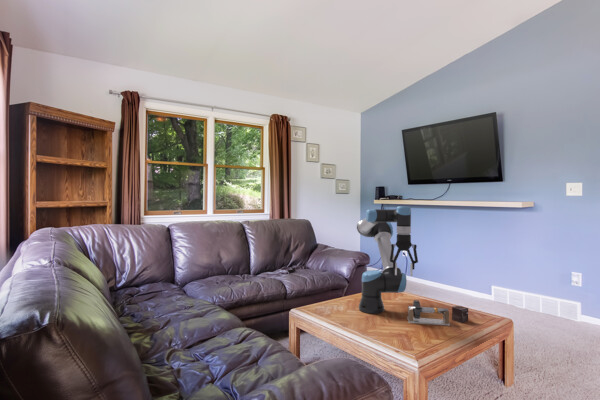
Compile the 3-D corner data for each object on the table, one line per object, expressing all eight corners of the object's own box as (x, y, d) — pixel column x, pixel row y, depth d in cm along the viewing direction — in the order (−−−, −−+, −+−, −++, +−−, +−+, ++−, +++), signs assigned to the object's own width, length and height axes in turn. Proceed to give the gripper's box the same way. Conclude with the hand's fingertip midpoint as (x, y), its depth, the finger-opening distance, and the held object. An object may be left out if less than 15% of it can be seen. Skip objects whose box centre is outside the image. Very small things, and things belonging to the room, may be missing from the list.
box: (461, 323, 180) (461, 309, 180) (451, 319, 186) (451, 306, 186) (468, 321, 183) (468, 308, 183) (458, 318, 188) (459, 305, 189)
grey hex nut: (415, 320, 179) (415, 303, 179) (413, 314, 188) (413, 298, 188) (420, 320, 178) (420, 303, 178) (417, 315, 187) (417, 298, 187)
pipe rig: (409, 322, 180) (409, 308, 180) (407, 318, 187) (407, 304, 187) (450, 325, 176) (450, 310, 177) (446, 321, 183) (446, 306, 183)
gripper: (385, 234, 183) (385, 275, 183) (424, 234, 179) (424, 277, 179) (384, 232, 190) (384, 272, 190) (421, 233, 187) (421, 274, 186)
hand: (403, 274), depth 185 cm, fingers open, 8 cm apart
